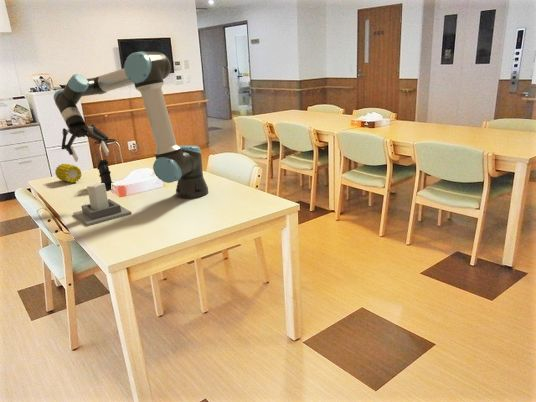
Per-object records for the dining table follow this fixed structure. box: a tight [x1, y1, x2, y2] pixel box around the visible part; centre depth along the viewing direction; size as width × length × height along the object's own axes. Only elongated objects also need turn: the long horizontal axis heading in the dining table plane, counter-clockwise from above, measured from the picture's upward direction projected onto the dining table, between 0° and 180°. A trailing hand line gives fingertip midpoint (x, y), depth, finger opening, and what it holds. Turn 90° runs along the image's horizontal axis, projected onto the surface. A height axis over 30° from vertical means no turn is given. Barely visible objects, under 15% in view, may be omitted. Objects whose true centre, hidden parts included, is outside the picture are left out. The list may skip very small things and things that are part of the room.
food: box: [54, 163, 82, 183], centre depth 227 cm, size 15×12×10 cm
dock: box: [72, 199, 132, 227], centre depth 174 cm, size 18×18×4 cm
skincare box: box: [86, 182, 109, 211], centre depth 173 cm, size 6×4×12 cm
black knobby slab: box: [96, 158, 114, 191], centre depth 212 cm, size 4×13×15 cm, turn 33°
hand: (92, 156), depth 181 cm, fingers open, 13 cm apart
